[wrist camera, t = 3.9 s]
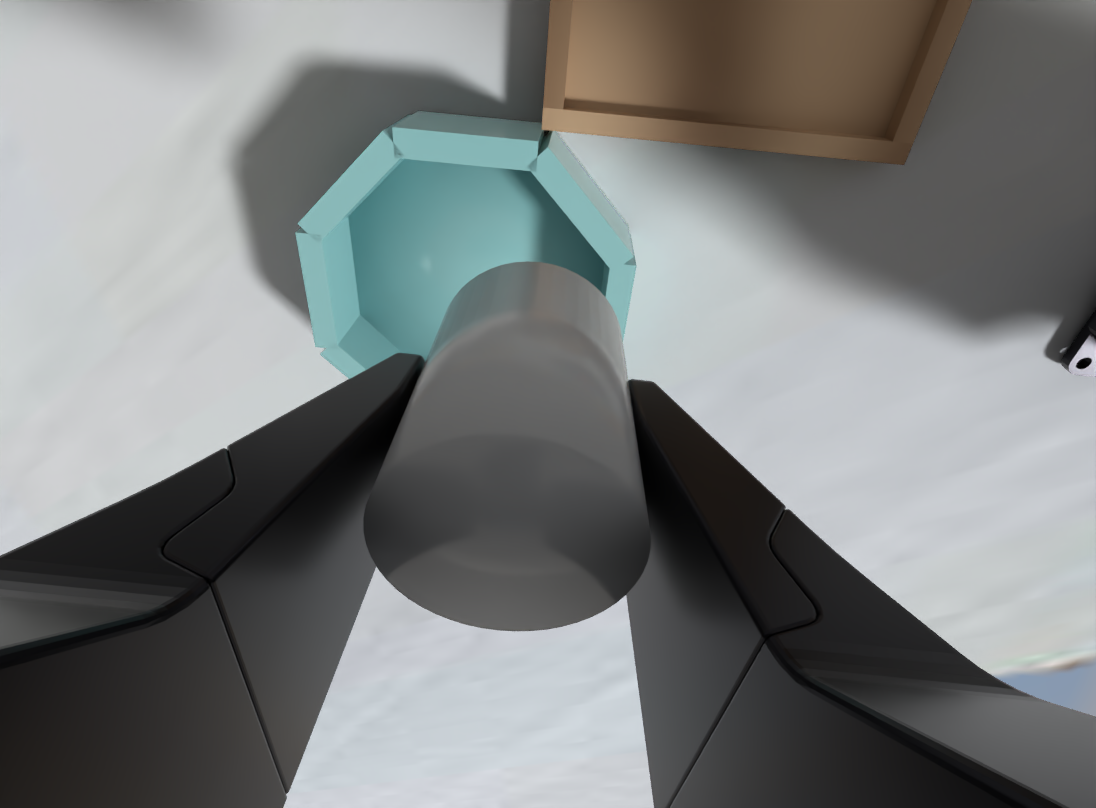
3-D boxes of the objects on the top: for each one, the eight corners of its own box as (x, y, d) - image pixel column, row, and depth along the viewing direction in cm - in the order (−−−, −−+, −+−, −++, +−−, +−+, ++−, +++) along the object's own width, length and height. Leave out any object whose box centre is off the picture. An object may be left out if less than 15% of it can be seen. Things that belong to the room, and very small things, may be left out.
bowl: (646, 133, 18) (656, 153, 16) (602, 403, 24) (604, 448, 22) (316, 100, 18) (274, 115, 16) (354, 379, 24) (328, 421, 22)
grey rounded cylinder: (639, 274, 9) (682, 453, 6) (605, 429, 11) (621, 642, 7) (441, 249, 9) (351, 415, 5) (439, 411, 11) (372, 617, 7)
